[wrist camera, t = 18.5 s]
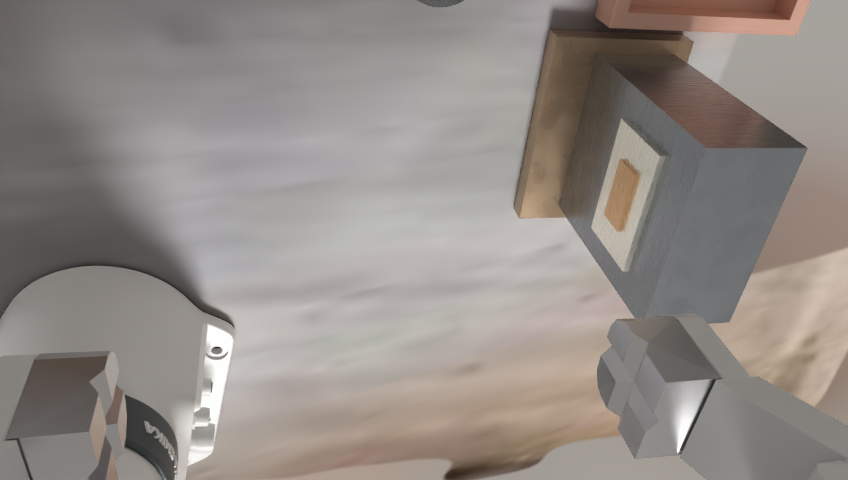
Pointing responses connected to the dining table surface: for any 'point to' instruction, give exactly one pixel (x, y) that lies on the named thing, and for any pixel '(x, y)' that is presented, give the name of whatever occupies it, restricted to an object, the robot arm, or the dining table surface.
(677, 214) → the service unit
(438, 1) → the steel cylinder
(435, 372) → the dining table surface
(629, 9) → the tray
